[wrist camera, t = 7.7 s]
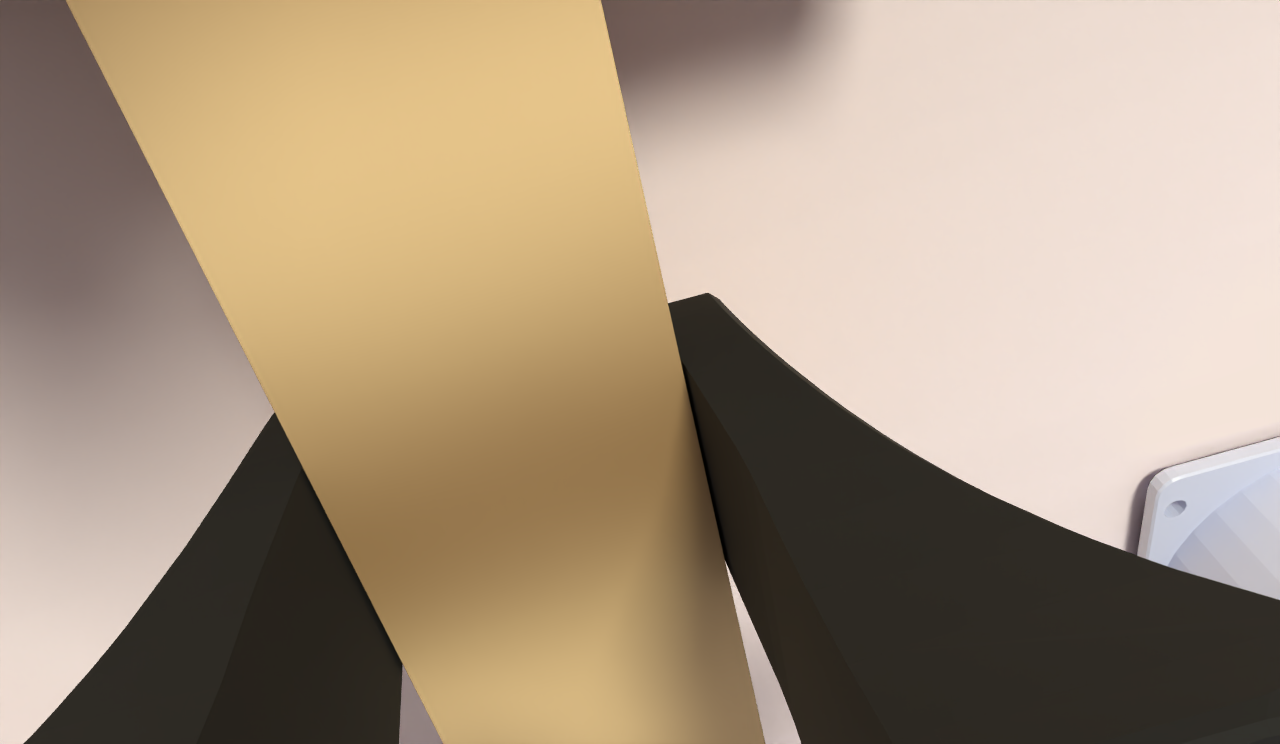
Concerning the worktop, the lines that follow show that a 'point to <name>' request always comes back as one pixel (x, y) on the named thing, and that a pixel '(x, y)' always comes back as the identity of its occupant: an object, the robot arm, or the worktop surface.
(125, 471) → the worktop surface
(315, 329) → the rail
